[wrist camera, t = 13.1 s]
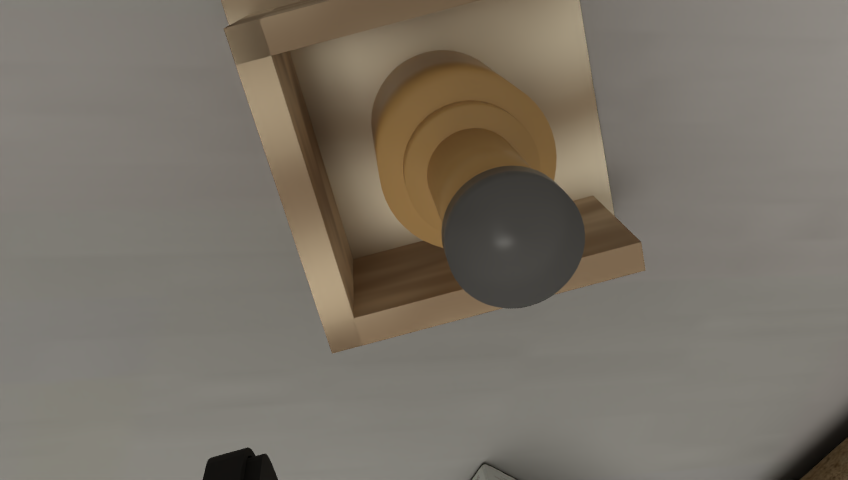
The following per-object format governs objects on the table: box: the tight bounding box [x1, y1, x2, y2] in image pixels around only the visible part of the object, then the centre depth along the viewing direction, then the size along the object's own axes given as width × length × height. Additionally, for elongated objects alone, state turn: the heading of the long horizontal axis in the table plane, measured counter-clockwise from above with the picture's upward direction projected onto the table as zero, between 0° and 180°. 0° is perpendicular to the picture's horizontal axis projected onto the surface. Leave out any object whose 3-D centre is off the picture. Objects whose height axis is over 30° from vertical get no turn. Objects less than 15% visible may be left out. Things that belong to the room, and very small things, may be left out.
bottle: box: [371, 50, 585, 308], centre depth 25 cm, size 6×6×15 cm
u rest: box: [221, 0, 645, 353], centre depth 30 cm, size 15×14×7 cm
